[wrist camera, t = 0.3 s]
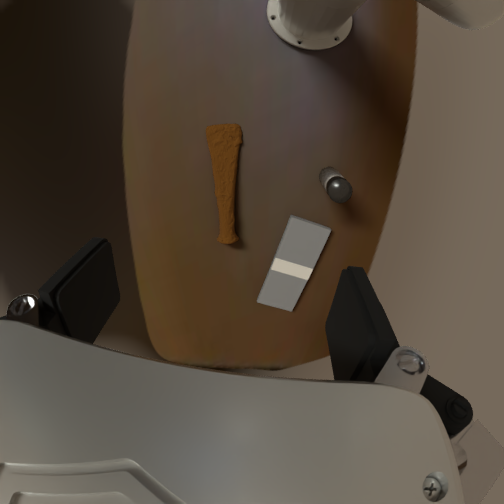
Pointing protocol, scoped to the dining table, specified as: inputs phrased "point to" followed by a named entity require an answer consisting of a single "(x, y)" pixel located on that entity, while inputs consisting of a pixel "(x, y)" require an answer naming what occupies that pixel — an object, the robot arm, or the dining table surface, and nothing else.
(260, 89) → the dining table surface
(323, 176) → the steel peg
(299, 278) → the panel
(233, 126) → the primitive tool
